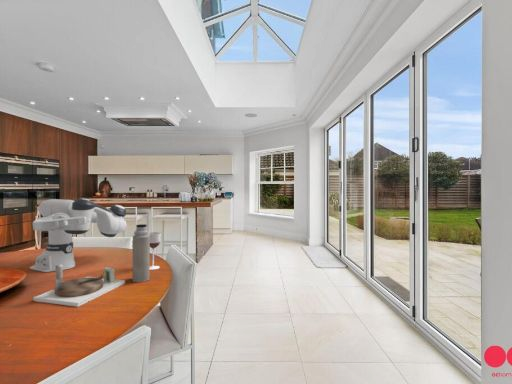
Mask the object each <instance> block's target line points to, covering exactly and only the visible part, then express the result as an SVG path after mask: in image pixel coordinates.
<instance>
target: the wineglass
mask: <svg viewBox="0 0 512 384" xmlns="http://www.w3.org/2000/svg"><path fill="white" fill-rule="evenodd" d="M148 235H150V249H152V262H151V263H152V265H150V267H149V271H150V270H158V269H160V268H161V267H160V265H155V248H158V247H159V246H160V243H161V237H162V233H161V232H155V231H154V232H153V231H152V232H149V233H148Z"/></svg>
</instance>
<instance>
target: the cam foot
mask: <svg viewBox="0 0 512 384" xmlns="http://www.w3.org/2000/svg"><path fill="white" fill-rule="evenodd" d="M63 272H64V270H63V265H56V271H55V286H54V289H55V294H56V295H58V296H63V297H72V296H80V295H85V294H89V293H93V292H95V291H98V290H99V289H101V288H102V287H103V280H102V279H104V278H105V277H106V275H104V273H103V274H100V276H99V277H96V278H93V276H88V277H89V278H85V277H79V278H74V279H69V280H65V281H63V280H64V279H63V278H64V277H63V275H64V273H63Z"/></svg>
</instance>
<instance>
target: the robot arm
mask: <svg viewBox="0 0 512 384" xmlns="http://www.w3.org/2000/svg"><path fill="white" fill-rule="evenodd" d="M38 211H39V214H40V215H41V217H37V218H36V219H35V220H33V221H32V230H33V231H37V232H48V243H47V244H46V245H44V247H45V250H44V251H43V252H42V253H40V254H39V255H38V256H37V257H36V258H35V263H34V264H33V265H31V266H29V269H30V270H32V271H33V270H34V271H37V272H43V273H49V272H56V265H63V271H65V270H70V269H73V268H74V267H76V261H75V255H74V250H73V249H74V242H73V235H83V234H86V233H87V232H89V230H90V227H91V224H96V227H97V229H98V230H99V232H100V235H102V236H103V237H106V238H114V237H116V235H117V234H121V233H123V232H124V231H126V229H127V226H128V225H127V221H126V220H125V217H126V216H127V209H126V208H125V207H124V206H123V205H121V204H120V205H119V204H112V205H111V207H109V209H108V208H106V207H104V206H102V205H99V204H97V203H96V202H94V201H92V200H90V199H87V198H77V199H75V200H72V199H62V198H61V199H58V198H57V199H55V198H52V199H51V198H50V199H46V200H44V201H41V203H40V204H39V205H38Z"/></svg>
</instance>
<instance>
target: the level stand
mask: <svg viewBox="0 0 512 384" xmlns="http://www.w3.org/2000/svg"><path fill="white" fill-rule="evenodd" d="M103 274H104V275H106V277H105V278H104V279H102V280H103V287H102V288H101V289H99V290H98V291H95V292H93V293H89V294H85V295H80V296H72V297H63V296H58V295H56V294H55V288H54V289H51V290H48V291H46V292H43V293H42V294H39V295H36V296H34V297H33V302H39V303H46V304H55V305H61V306H62V305H63V306H67V307H68V306H69V307H76V308H79V307H80V306H82V305H84V304H86V303H89V302H91V301H92V300H95V299H97V298H99V297H100V296H103V295H105V294H107V293H108V292H110V291H113V290H115V289H117V288H119V287H121V286H123V285H126V284H125V283H126V280H123V279H115V269H114V268H111V267H108V266H107V267H103ZM89 277H90V276H86V277H84V278H89ZM92 277H93V276H92ZM93 278H97V277H93ZM88 301H89V302H88Z"/></svg>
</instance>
